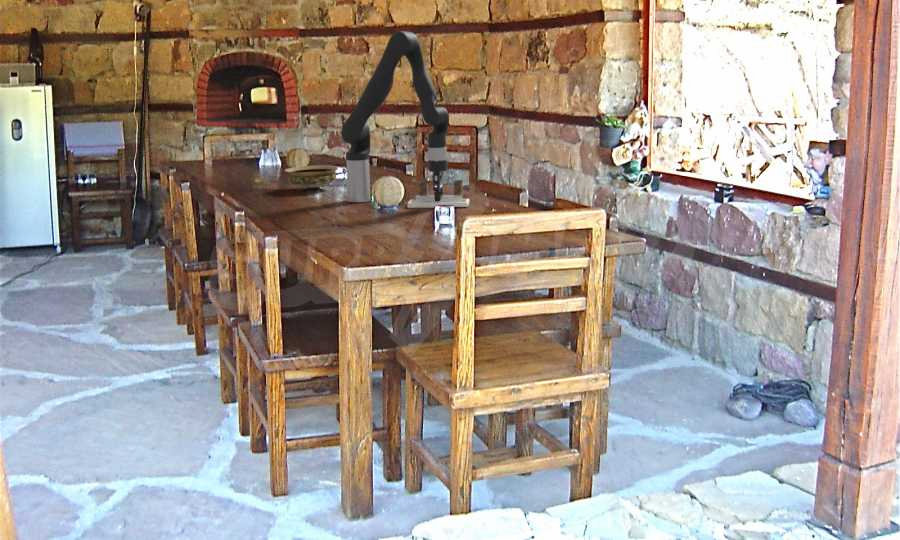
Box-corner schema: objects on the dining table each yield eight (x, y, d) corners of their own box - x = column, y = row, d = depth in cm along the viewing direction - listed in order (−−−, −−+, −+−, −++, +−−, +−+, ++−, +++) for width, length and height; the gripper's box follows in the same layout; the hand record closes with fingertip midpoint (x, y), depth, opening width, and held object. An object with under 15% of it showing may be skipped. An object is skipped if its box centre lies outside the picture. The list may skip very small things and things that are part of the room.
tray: (407, 208, 382) (407, 203, 381) (411, 204, 391) (410, 199, 391) (467, 207, 379) (467, 202, 379) (469, 203, 389) (469, 198, 388)
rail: (415, 205, 385) (415, 196, 384) (416, 204, 388) (416, 195, 387) (461, 205, 383) (460, 196, 382) (461, 203, 386) (461, 195, 385)
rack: (416, 203, 393) (415, 182, 391) (418, 201, 398) (417, 180, 397) (465, 203, 391) (464, 181, 389) (466, 200, 396) (466, 179, 395)
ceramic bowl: (275, 189, 446) (274, 167, 444) (323, 184, 458) (322, 163, 456) (301, 196, 421) (300, 173, 419) (351, 191, 433) (350, 169, 431)
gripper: (430, 157, 388) (431, 197, 392) (425, 160, 375) (427, 202, 378) (448, 156, 388) (449, 197, 391) (445, 160, 374) (446, 202, 377)
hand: (438, 199), depth 385 cm, fingers open, 8 cm apart
